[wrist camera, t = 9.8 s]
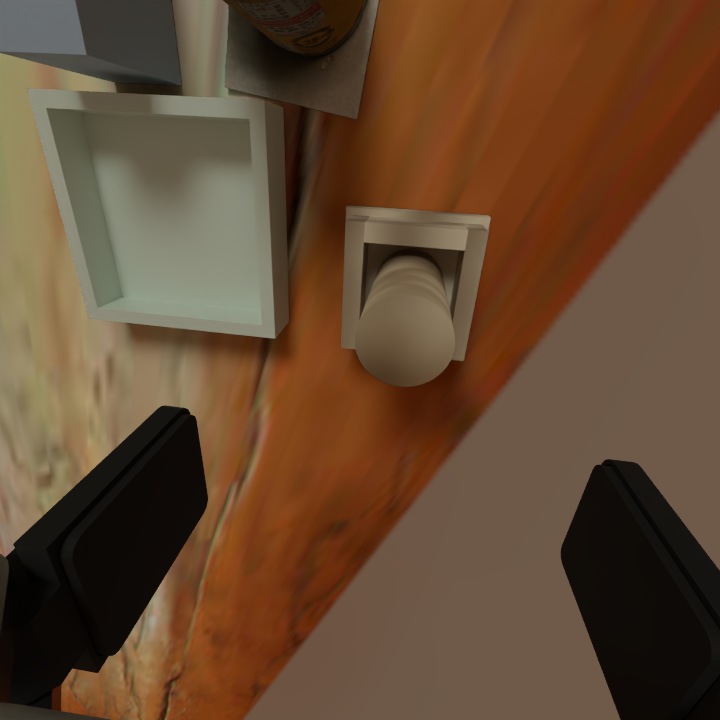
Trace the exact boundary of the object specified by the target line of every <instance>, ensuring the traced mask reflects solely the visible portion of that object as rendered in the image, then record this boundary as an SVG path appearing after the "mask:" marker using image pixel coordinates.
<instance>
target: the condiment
mask: <svg viewBox="0 0 720 720" xmlns="http://www.w3.org/2000/svg"><path fill="white" fill-rule="evenodd" d="M223 1H224V2H226V3H227V4H228V5H229V7H228V8H229V21H228V41H227V55H226V65H225V87H226V88H230V89H234V90H238V91H242V92H246V93H250V94H254V95H258V96H262V97H267V98H270V99H274V100H279V101H283V102H287V103H291V104H295V105H299V106H304V107H307V108H312V109H316V110H320V111H324V112H328V113H332V114H336V115H340V116H345V117H349V118H353V119H357V117H358V111H359V105H360V99H361V94H362V89H363V84H364V77H365V72H366V66H367V61H368V56H369V50H370V45H371V40H372V34H373V29H374V24H375V18H376V13H377V8H378V3H379V0H223ZM330 56H332V57H334V58H333V60H331V61H330V62H328V57H330ZM325 62H327V63H328V65H327V66H326V68H325V69H321V66H322V65H323V63H325Z"/></svg>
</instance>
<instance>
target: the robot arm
mask: <svg viewBox="0 0 720 720" xmlns="http://www.w3.org/2000/svg"><path fill="white" fill-rule="evenodd" d="M207 502H208V495H207V488H206V481H205V474H204V468H203V461H202V454H201V448H200V441H199V434H198V427H197V421H196V418H195V416H193V415H190V412H189V410H188V409H186V408H180V407H172V406H161V407H160V408H158V409H157V410H156V411H155V412H154V413H153V414H152V415H151V416H150V417H149V418H147V419H146V420H145V421H144V422H143V423H142V424H141V425H140V426H139V427H138V428H137V429H136V430H135V431H134V432H132V433H131V434H130V435H129V436H128V437H127V438H126V439H125V440H124V441H123V442H122V443H121V444H120V445H119V446H118V447H116V448H115V449H114V450H113V451H112V452H111V453H110V454H109V455H108V456H107V457H106V458H105V459H104V460H103V461H101V462H100V463H99V464H98V465H97V466H96V467H95V468H94V469H93V470H92V471H91V472H90V473H89V474H88V475H87V476H85V477H84V478H83V479H82V480H81V481H80V482H79V483H78V484H77V485H76V486H75V487H74V488H73V489H72V490H70V491H69V492H68V493H67V494H66V495H65V496H64V497H63V498H62V499H61V500H60V501H59V502H58V503H57V504H55V505H54V506H53V507H52V508H51V509H50V510H49V511H48V512H47V513H46V514H45V515H44V516H43V517H42V518H41V519H39V520H38V521H37V522H36V523H35V524H34V525H33V526H32V527H31V528H30V529H29V530H28V531H27V532H26V533H24V534H23V535H22V536H21V537H20V538H19V539H18V540H17V541H16V542H15V543H14V544H13V545H14V547H15V549H14V550H13V551H12V552H11V553H10V554H8V555H7V556H6V557H4V556H3V555H2V554H0V720H110V719H104V718H98V717H92V716H86V715H80V714H74V713H68V712H62V711H61V684H62V683H63V681H64V680H65V678H66V677H67V675H68V674H69V672H70V671H71V669H72V668H73V669H78V670H84V671H89V672H95V673H98V672H99V671H100V669H101V667H102V666H103V664H104V663H105V661H106V659H107V658H108V656H113V655H115V654H116V653H117V652H118V651H119V650H120V648H121V647H122V646H123V644H124V642H125V641H126V639H127V638H128V636H129V634H130V633H131V631H132V629H133V628H134V626H135V624H136V623H137V621H138V620H139V618H140V616H141V615H142V613H143V611H144V610H145V608H146V606H147V605H148V603H149V602H150V600H151V598H152V597H153V595H154V593H155V592H156V590H157V589H158V587H159V585H160V584H161V582H162V580H163V579H164V577H165V575H166V574H167V572H168V571H169V569H170V567H171V566H172V564H173V562H174V561H175V559H176V557H177V556H178V554H179V553H180V551H181V549H182V548H183V546H184V544H185V543H186V541H187V540H188V538H189V536H190V535H191V533H192V531H193V530H194V528H195V526H196V525H197V523H198V522H199V520H200V518H201V517H202V515H203V513H204V511H205V509H206V507H207ZM561 560H562V564H563V567H564V569H565V572H566V575H567V578H568V580H569V583H570V586H571V588H572V591H573V594H574V596H575V599H576V602H577V604H578V607H579V610H580V612H581V615H582V617H583V620H584V623H585V626H586V628H587V631H588V633H589V636H590V639H591V642H592V644H593V647H594V650H595V652H596V655H597V658H598V661H599V663H600V666H601V669H602V671H603V674H604V677H605V679H606V682H607V685H608V687H609V690H610V692H611V695H612V698H613V701H614V703H615V706H616V709H617V711H618V714H619V717H620V719H621V720H720V570H719V569H718V568H717V567H716V565H715V564H714V563H713V561H712V560H711V559H710V557H709V556H708V555H707V553H706V552H705V551H704V550H703V548H702V547H701V545H700V544H699V543H698V542H697V540H696V539H695V538H694V536H693V535H692V534H691V533H690V531H689V530H688V529H687V527H686V526H685V524H684V523H683V522H682V521H681V519H680V518H679V517H678V516H677V514H676V513H675V511H674V510H673V509H672V507H671V506H670V505H669V504H668V502H667V501H666V499H665V498H664V497H663V495H662V494H661V493H660V492H659V490H658V489H657V488H656V486H655V485H654V484H653V482H652V481H651V480H650V479H649V477H648V476H647V474H646V473H645V472H644V471H643V469H642V468H641V467H640V466H639V465H638V464H637V463H634V462H627V461H619V460H610V459H608V460H605V461H604V462H603V463H602V464H601V465H596V466H595V467H594V469H593V470H592V473H591V475H590V478H589V481H588V483H587V485H586V488H585V490H584V493H583V495H582V498H581V500H580V502H579V505H578V508H577V510H576V512H575V515H574V518H573V520H572V523H571V525H570V527H569V530H568V532H567V535H566V537H565V540H564V542H563V545H562V548H561Z"/></svg>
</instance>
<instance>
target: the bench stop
mask: <svg viewBox="0 0 720 720" xmlns="http://www.w3.org/2000/svg"><path fill="white" fill-rule="evenodd" d="M0 53H3V54H7V55H11V56H15V57H19V58H22V59H26V60H30V61H34V62H38V63H42V64H46V65H49V66H53V67H57V68H61V69H65V70H69V71H72V72H76V73H80V74H84V75H88V76H92V77H96V78H99V79H103V80H107V81H111V82H120V83H142V84H163V85H182V83H181V75H180V67H179V59H178V51H177V43H176V35H175V27H174V18H173V10H172V2H171V0H0Z"/></svg>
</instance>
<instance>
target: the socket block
mask: <svg viewBox="0 0 720 720" xmlns="http://www.w3.org/2000/svg"><path fill="white" fill-rule="evenodd" d="M490 219H491V217H489V216H488V215H475V214H462V213H448V212H434V211H421V210H407V209H394V208H380V207H366V206H353V205H349V206H347V207H346V223H345V250H344V277H343V304H342V331H341V348H347V349H355V332H356V328H357V325H358V322H359V320H360V317H361V315H362V312H363V309H364V307H365V304H366V301H367V299H368V296H369V293H370V291H371V288H372V286H373V283H374V280H375V278H376V275H377V272H378V270H379V268H380V266H381V264H382V263H383V262H384V260H385V259H386V258H387V257H388V256H390V255H391V254H393V253H395V252H397V251H399V250H403V249H418V250H421V251H424V252H426V253H428V254H429V255H431V256H432V257H433V258H434V259H435V260H436V261H437V263H438V264H439V266H440V268H441V271H442V274H443V279H444V284H445V289H446V294H447V299H448V304H449V309H450V314H451V319H452V324H453V328H454V334H455V349H454V353H453V356H452V359H451V360H459V361H464V357H465V352H466V347H467V342H468V337H469V332H470V326H471V321H472V316H473V311H474V306H475V301H476V296H477V291H478V285H479V280H480V275H481V270H482V265H483V260H484V255H485V249H486V244H487V239H488V234H489V231H488V230H489V224H490Z"/></svg>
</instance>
